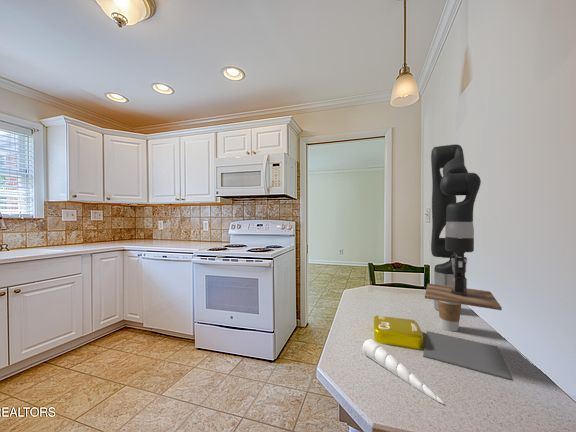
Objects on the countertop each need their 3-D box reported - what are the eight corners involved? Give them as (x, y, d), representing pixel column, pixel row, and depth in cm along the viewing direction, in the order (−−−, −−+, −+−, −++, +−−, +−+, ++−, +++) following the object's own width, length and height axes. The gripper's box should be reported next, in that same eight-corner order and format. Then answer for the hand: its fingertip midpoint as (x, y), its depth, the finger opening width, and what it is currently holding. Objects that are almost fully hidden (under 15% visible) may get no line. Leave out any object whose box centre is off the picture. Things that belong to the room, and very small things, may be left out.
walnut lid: (427, 285, 92) (427, 269, 92) (490, 293, 82) (490, 276, 82) (424, 298, 76) (425, 279, 76) (501, 310, 67) (501, 288, 67)
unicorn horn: (432, 411, 54) (432, 388, 54) (360, 355, 76) (361, 339, 76) (447, 405, 56) (447, 383, 56) (373, 352, 78) (373, 336, 78)
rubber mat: (426, 332, 92) (426, 330, 92) (497, 347, 82) (497, 346, 82) (423, 356, 75) (423, 355, 75) (511, 380, 65) (511, 378, 65)
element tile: (424, 351, 79) (424, 336, 79) (374, 343, 84) (374, 329, 84) (416, 331, 93) (416, 318, 93) (373, 325, 98) (373, 313, 98)
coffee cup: (466, 334, 91) (467, 292, 91) (441, 331, 93) (441, 290, 93) (456, 324, 99) (456, 286, 100) (432, 322, 101) (433, 285, 101)
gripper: (444, 234, 87) (444, 283, 87) (445, 236, 75) (445, 293, 75) (471, 235, 83) (471, 287, 83) (476, 238, 71) (476, 298, 71)
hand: (458, 290), depth 79 cm, fingers closed on walnut lid, 4 cm apart
